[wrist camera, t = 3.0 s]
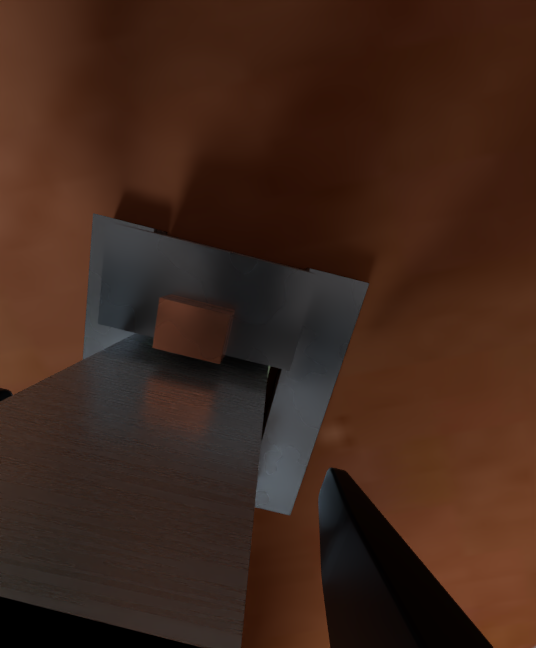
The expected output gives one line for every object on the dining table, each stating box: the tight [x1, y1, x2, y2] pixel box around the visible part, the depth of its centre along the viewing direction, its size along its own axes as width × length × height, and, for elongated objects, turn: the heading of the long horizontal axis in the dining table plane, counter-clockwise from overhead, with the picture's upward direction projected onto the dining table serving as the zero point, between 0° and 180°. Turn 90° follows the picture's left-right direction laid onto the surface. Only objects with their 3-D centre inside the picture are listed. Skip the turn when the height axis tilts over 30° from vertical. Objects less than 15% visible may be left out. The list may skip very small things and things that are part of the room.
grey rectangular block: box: [0, 333, 270, 648], centre depth 6 cm, size 4×4×9 cm
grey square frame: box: [83, 213, 369, 515], centre depth 8 cm, size 10×9×4 cm
